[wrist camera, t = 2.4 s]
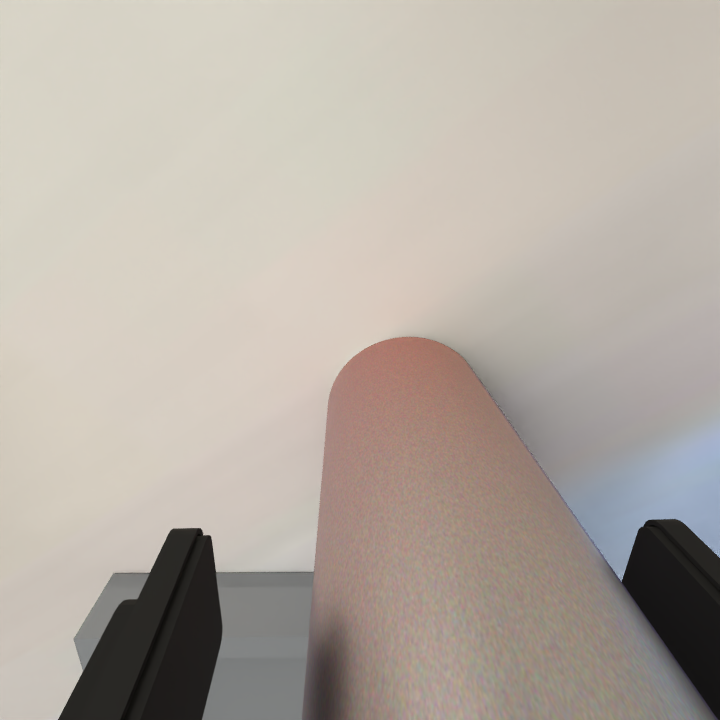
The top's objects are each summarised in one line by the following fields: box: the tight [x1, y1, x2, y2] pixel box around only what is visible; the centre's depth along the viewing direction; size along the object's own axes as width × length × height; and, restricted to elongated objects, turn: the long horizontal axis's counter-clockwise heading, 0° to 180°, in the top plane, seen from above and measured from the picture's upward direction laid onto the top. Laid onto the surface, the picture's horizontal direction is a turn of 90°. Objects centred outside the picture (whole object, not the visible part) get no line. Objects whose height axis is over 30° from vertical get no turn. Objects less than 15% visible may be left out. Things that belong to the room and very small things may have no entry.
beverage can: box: [302, 337, 718, 720], centre depth 11 cm, size 6×6×15 cm
